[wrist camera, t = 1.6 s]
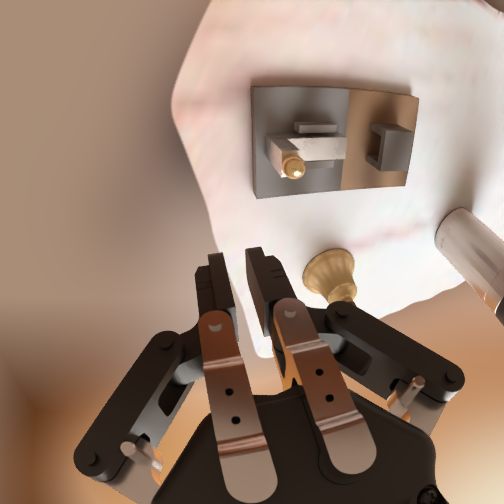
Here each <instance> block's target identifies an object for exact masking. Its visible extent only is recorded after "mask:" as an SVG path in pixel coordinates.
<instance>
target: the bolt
mask: <svg viewBox="0 0 504 504" xmlns="http://www.w3.org/2000/svg"><path fill="white" fill-rule="evenodd" d="M346 147H347V137H346V136H344V135H343V134H341V133H339V132H336V133H290V134H271V135H266V158H267V159H268V160H269V162H270V163H271V164H272V166H273V167H274V168H275V169H276V171H277V172H278V173H279V175H280V176H281V177H288V178H290V179H298V178H300V177H301V176H303V174H304V173H305V170H306V164H305V162H304V161H315V160H335V159H345V157H346Z"/></svg>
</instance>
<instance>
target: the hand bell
mask: <svg viewBox="0 0 504 504" xmlns="http://www.w3.org/2000/svg"><path fill="white" fill-rule="evenodd" d="M353 271H354V259H353V257H352V255H351V254H350V253H349V252H347V251H345V250H342V249H331V250H328V251H325V252H323V253H321V254H319V255H317V256H316V257H315V258H313V259H312V260H311V262H310V263H309V264H308V265H307V267H306V268H305V270H304V273H303V283H304V285H305V287H306V288H307V289H308V290H310V291H311V292H313V293H317V294H321V295H322V296H323V297H324V298H325V299H326V300H327V302H328V303H329V304H330V303H332V302H335V301H346V302H349V303H351V304H353V305H354V306H356V305H355V303H354V302H353V299H354V298H355V296H356V293H357V287H356V285H355V283H354V280H353V277H352V274H353Z"/></svg>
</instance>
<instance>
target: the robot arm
mask: <svg viewBox="0 0 504 504" xmlns="http://www.w3.org/2000/svg"><path fill="white" fill-rule="evenodd" d="M435 245H436V248H437V249H438V250H439V251H440V252H441V253H442V254H443V255H444V256H445V257H446V258H447V260H448V261H449V262H450V263H451V264H452V265H453V266H454V267H455V268H456V269H457V271H458V272H459V273H460V274H461V275H462V276H463V277H464V278H465V280H466V281H467V282H468V283H469V284H470V285H471V286H472V288H474V290H475V291H476V292H477V294H478V295H479V296H480V297H481V298H482V299H483V301H484V302H485V303H486V304H487V305H488V307H489V308H490V309H491V310H492V312H493V313H494V314H495V315H496V317H497V318H498V319H499V321H500V322H501V323H502V324H503V326H504V241H503V240H502V239H500V238H499V237H498V236H497V235H496V234H495V233H494V232H493V231H492V230H491V229H489V228H488V227H487V226H486V225H485V224H484V223H483V222H481V221H480V220H479V219H478V218H477V217H476V216H474V215H473V214H471V213H470V212H469V211H468V210H466V209H465V208H458V209H456V210H454V211H452V212H451V213H450V214H449V215H448V216H447V217H446V218H445V219H444V220H443V222H442V223H441V225H440V227H439V229H438V231H437V234H436V238H435ZM245 254H246V274H247V281H248V285H249V289H250V292H251V295H252V299H253V302H254V305H255V309H256V312H257V315H258V318H259V322H260V325H261V328H262V332H263V335H264V337H266V336H270V337H271V340H272V351H273V354H274V357H275V361H276V364H277V367H278V370H279V374H280V377H281V381H282V385H283V392H281V393H279V394H277V395H253V394H252V391H251V387H250V384H249V380H248V376H247V372H246V369H245V365H244V361H243V359H242V358H241V354H240V351H239V347H238V343H237V342H238V341H239V338H238V328H237V318H236V307H235V303H234V299H233V294H232V290H231V286H230V282H229V278H228V273H227V269H226V265H225V260H224V256H223V252H221V253H216V254H208V261H209V265H207V266H201V267H198V269H197V271H196V273H195V282H196V291H197V300H198V308H199V320H198V322H197V324H196V325H195V326H194V327H193V328H192V329H190V330H189V331H187V332H184V333H182V334H180V335H179V334H177V333H176V332H173V331H163V332H160V333H158V334H156V335H155V336H154V337H153V338H152V339H151V341H150V342H149V343H148V345H147V346H146V347H145V349H144V350H143V351H142V353H141V354H140V356H139V357H138V359H137V360H136V361H135V363H134V364H133V366H132V367H131V369H130V370H129V371H128V373H127V374H126V376H125V377H124V378H123V380H122V381H121V383H120V384H119V386H118V387H117V389H116V390H115V391H114V393H113V394H112V396H111V397H110V399H109V400H108V402H107V403H106V404H105V406H104V407H103V409H102V410H101V412H100V413H99V415H98V416H97V418H96V419H95V421H94V422H93V424H92V425H91V427H90V428H89V430H88V431H87V433H86V434H85V436H84V437H83V439H82V440H81V442H80V443H79V445H78V446H77V448H76V449H75V452H74V463H75V465H76V468H77V469H78V470H79V471H80V472H81V473H82V474H84V475H86V476H88V477H90V478H92V479H93V480H95V481H97V482H99V483H101V484H104V485H106V486H109V487H112V488H113V489H115V490H116V491H118V492H119V493H121V494H123V495H124V496H126V497H128V498H129V499H131V500H133V501H134V502H136V503H138V504H449V503H448V502H447V501H446V499H445V498H444V497H443V496H442V494H441V493H440V492H439V490H438V488H437V485H436V480H435V459H436V452H435V447H434V444H433V442H432V440H431V438H430V437H429V436H430V434H431V432H432V430H433V429H434V427H435V425H436V423H437V421H438V419H439V417H440V415H441V413H442V411H443V409H444V407H445V405H446V403H448V401H450V400H451V399H452V398H453V397H454V396H455V395H456V394H457V393H458V391H459V390H460V389H461V388H462V387H463V385H464V382H465V377H464V373H463V372H462V370H461V369H460V368H459V367H458V366H457V365H455V364H454V363H452V362H450V361H449V360H447V359H445V358H443V357H442V356H440V355H438V354H437V353H435V352H433V351H431V350H430V349H428V348H426V347H425V346H423V345H421V344H419V343H418V342H416V341H414V340H413V339H411V338H409V337H408V336H406V335H404V334H402V333H401V332H399V331H397V330H395V329H394V328H392V327H390V326H388V325H387V324H385V323H383V322H382V321H380V320H378V319H377V318H375V317H373V316H372V315H370V314H368V313H366V312H365V311H363V310H361V309H359V308H358V307H356V306H354V305H353V304H351V303H349V302H346V301H335V302H332V303H330V304H329V305H328V307H327V309H319V308H310V307H307V306H305V304H304V303H303V302H302V301H300V300H298V299H297V297H296V295H295V293H294V291H293V288H292V286H291V284H290V282H289V279H288V277H287V276H286V273H285V271H284V268H283V266H282V264H281V262H280V261H279V260H278V259H277V258H276V257H275V256H273V255H272V256H265V255H264V253H263V250H262V248H261V247H255V248H248V249H246V250H245ZM340 371H342V372H343V373H345V374H346V375H348V376H349V377H351V378H353V379H354V380H356V381H357V382H359V383H360V384H362V385H363V386H365V387H366V388H368V389H370V390H371V391H373V392H374V393H376V394H378V395H379V396H381V397H382V398H384V399H386V400H387V406H388V408H389V411H390V412H388V411H386V410H385V409H383V408H381V407H379V406H377V405H376V404H374V403H372V402H370V401H369V400H367V399H365V398H364V397H362V396H360V395H358V394H357V393H355V392H353V391H352V390H350V389H348V388H347V386H346V383H345V381H344V379H343V376H342V374H341V372H340ZM203 376H205V381H206V387H207V393H208V398H209V404H210V410H211V413H209V414H208V415H207V416H206V417H205V418H204V419H203V420H202V422H201V423H200V424H199V426H198V427H197V429H196V431H195V432H194V434H193V435H192V437H191V439H190V440H189V442H188V444H187V446H186V447H185V448H184V450H183V452H182V453H181V455H180V456H179V458H178V460H177V461H176V463H175V464H174V466H173V468H172V469H171V471H170V472H169V474H168V476H167V477H166V478H165V480H164V482H163V483H162V482H161V479H160V471H161V468H162V465H163V459H162V456H161V454H160V453H159V451H158V450H157V449H156V448H157V447H158V445H159V443H160V441H161V440H162V438H163V436H164V435H165V433H166V431H167V429H168V427H169V426H170V424H171V423H172V421H173V419H174V417H175V416H176V414H177V412H178V410H179V409H180V407H181V405H182V403H183V402H184V400H185V398H186V396H187V395H188V393H189V391H190V390H191V388H192V386H193V384H194V382H195V380H197V379H199V378H201V377H203Z"/></svg>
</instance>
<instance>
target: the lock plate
mask: <svg viewBox="0 0 504 504" xmlns="http://www.w3.org/2000/svg"><path fill="white" fill-rule="evenodd" d="M418 105H419V98H417V97H414V96H411V95H405V94H398V93H391V92H383V91H375V90H365V89H354V88H341V87H323V86H253V87H251V107H252V144H253V181H254V194H255V196H256V198H257V199H262V198H270V197H279V196H288V195H298V194H308V193H318V192H329V191H341V190H353V189H366V188H380V187H396V186H405V184H406V179H407V174H408V169H409V164H410V158H411V153H412V147H413V141H414V134H415V127H416V120H417V113H418ZM336 132H339V133H341V134H343V135H344V136H346V137H347V147H346V157H345V159H335V160H315V161H304V162H305V164H306V170H305V173H304V174H303V176H301V177H300V178H298V179H290V178H288V177H281V176H280V175H279V173H278V172H277V171H276V169H275V168H274V167H273V166H272V164H271V163H270V162H269V160H268V159H267V158H266V135H271V134H290V133H336Z"/></svg>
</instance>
